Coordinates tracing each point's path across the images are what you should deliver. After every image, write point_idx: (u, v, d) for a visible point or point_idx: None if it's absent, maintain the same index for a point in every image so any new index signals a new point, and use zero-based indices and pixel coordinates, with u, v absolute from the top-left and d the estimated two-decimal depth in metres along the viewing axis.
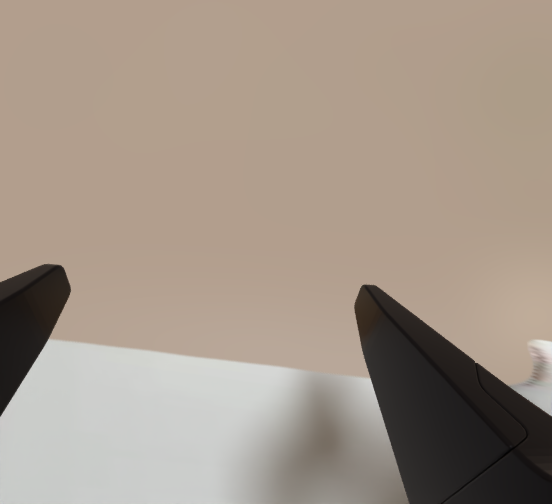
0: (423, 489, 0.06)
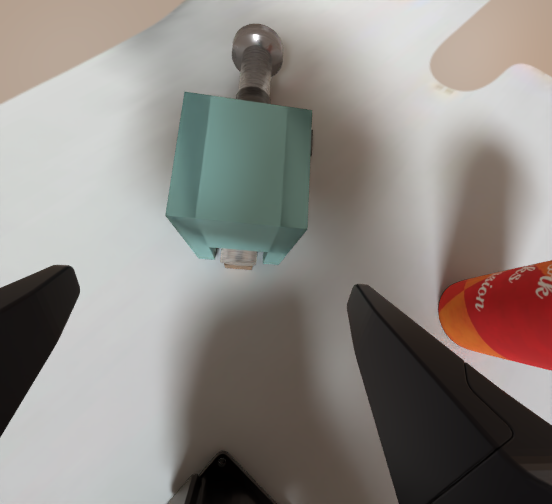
0: (412, 489, 0.06)
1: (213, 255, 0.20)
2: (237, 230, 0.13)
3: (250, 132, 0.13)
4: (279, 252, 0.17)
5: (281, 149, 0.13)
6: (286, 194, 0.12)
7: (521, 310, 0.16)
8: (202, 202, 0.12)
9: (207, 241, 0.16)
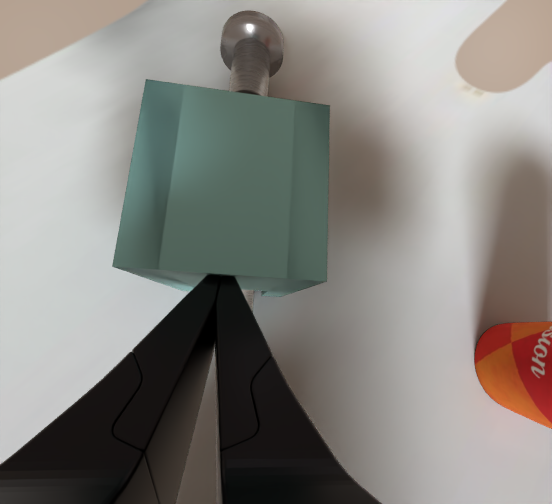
0: None
1: None
2: None
3: (241, 137, 0.09)
4: (282, 291, 0.13)
5: (287, 162, 0.09)
6: (295, 229, 0.09)
7: None
8: (170, 244, 0.08)
9: (186, 283, 0.12)
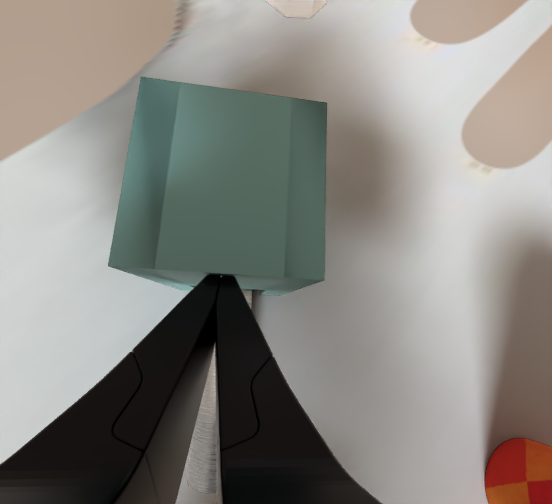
0: None
1: None
2: None
3: (238, 135, 0.09)
4: (281, 290, 0.13)
5: (284, 160, 0.09)
6: (292, 227, 0.08)
7: None
8: (166, 243, 0.08)
9: (184, 282, 0.12)
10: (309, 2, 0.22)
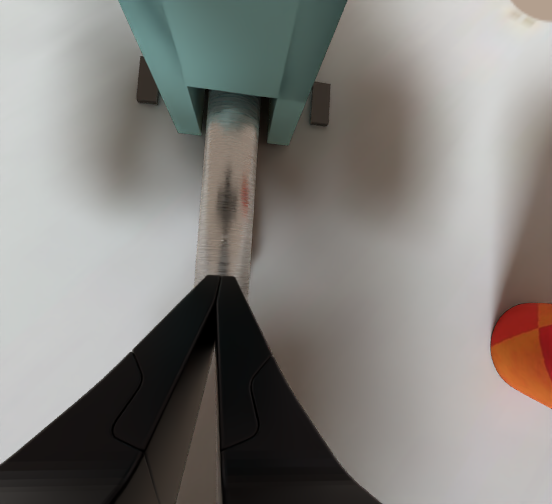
0: None
1: (197, 122, 0.14)
2: None
3: None
4: (294, 97, 0.11)
5: None
6: None
7: None
8: None
9: (181, 60, 0.10)
10: None
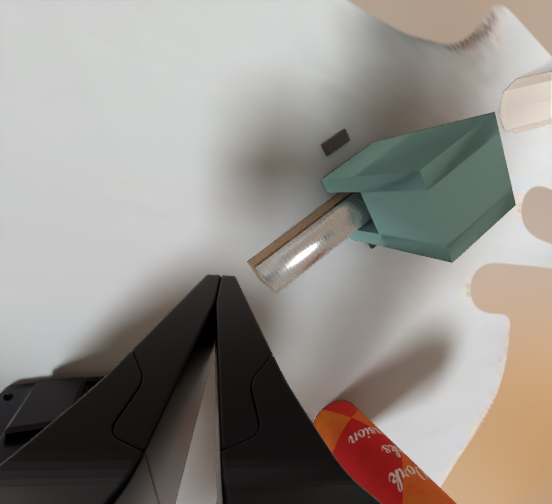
0: None
1: (336, 192, 0.22)
2: (417, 217, 0.16)
3: (488, 178, 0.16)
4: (384, 242, 0.21)
5: (487, 207, 0.17)
6: (464, 233, 0.16)
7: (372, 473, 0.21)
8: (437, 187, 0.15)
9: (374, 192, 0.18)
10: (516, 124, 0.29)
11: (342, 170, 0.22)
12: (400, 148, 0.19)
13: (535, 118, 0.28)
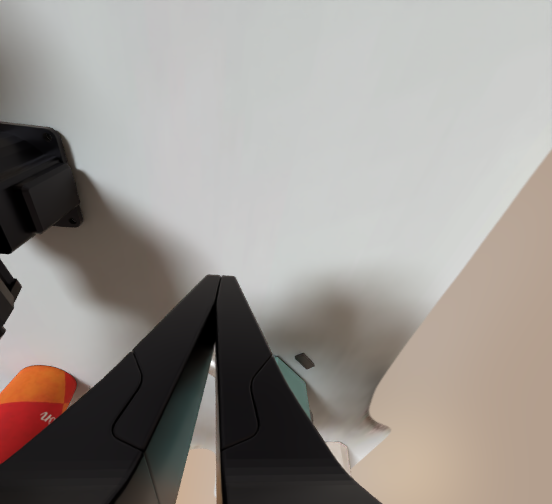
0: None
1: None
2: None
3: None
4: None
5: None
6: None
7: None
8: None
9: None
10: None
11: (284, 374, 0.29)
12: None
13: None
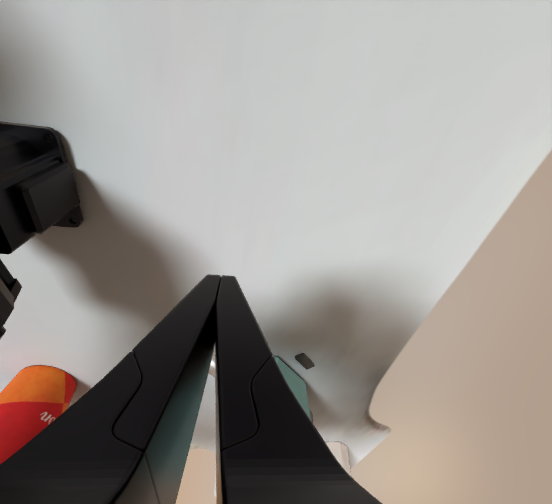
0: None
1: None
2: None
3: None
4: None
5: None
6: None
7: None
8: None
9: None
10: None
11: (284, 374, 0.29)
12: None
13: None
